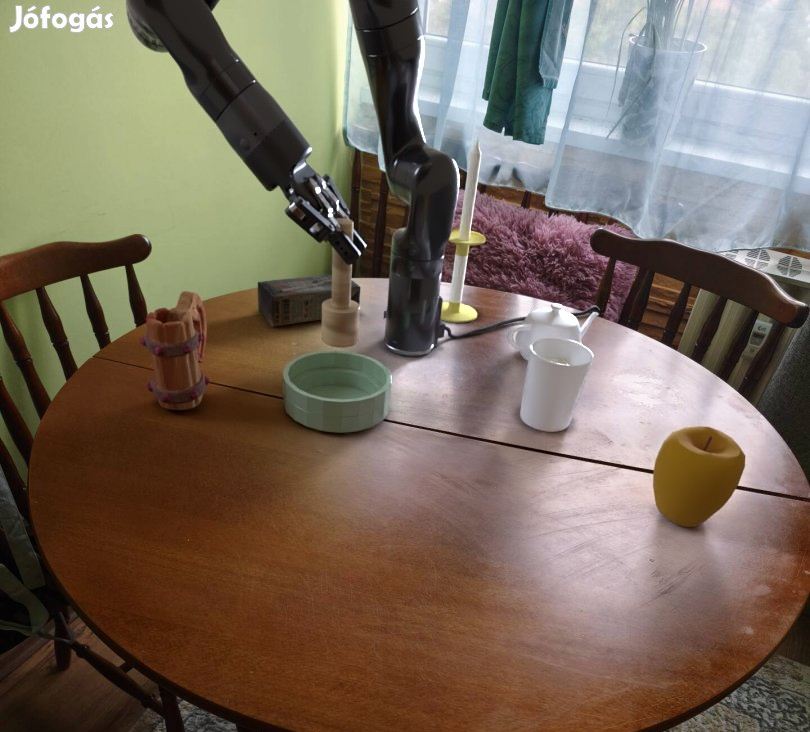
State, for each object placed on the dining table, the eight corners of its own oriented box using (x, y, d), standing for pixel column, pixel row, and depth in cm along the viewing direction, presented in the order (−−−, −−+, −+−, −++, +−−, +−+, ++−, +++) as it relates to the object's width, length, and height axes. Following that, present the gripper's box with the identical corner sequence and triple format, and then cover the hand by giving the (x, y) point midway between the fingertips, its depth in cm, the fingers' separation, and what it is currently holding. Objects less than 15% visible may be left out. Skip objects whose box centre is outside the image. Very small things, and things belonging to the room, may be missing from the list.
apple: (644, 482, 102) (673, 405, 94) (719, 504, 100) (756, 427, 91) (633, 523, 94) (664, 444, 86) (714, 548, 92) (755, 468, 83)
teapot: (570, 337, 140) (583, 287, 133) (608, 364, 132) (623, 313, 125) (485, 348, 133) (495, 296, 126) (520, 378, 124) (532, 324, 118)
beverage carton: (361, 315, 139) (363, 283, 135) (272, 329, 130) (270, 295, 126) (343, 300, 144) (344, 268, 140) (255, 313, 135) (254, 279, 131)
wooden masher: (345, 329, 101) (349, 213, 91) (365, 343, 98) (371, 225, 88) (314, 335, 99) (315, 216, 88) (333, 350, 96) (336, 229, 85)
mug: (192, 422, 104) (180, 326, 94) (141, 413, 104) (124, 317, 95) (230, 379, 115) (223, 289, 105) (184, 370, 115) (172, 280, 106)
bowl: (353, 375, 119) (355, 343, 116) (408, 420, 110) (412, 386, 106) (266, 396, 111) (264, 362, 107) (317, 447, 102) (317, 411, 98)
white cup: (538, 398, 119) (554, 331, 111) (586, 422, 114) (606, 354, 107) (503, 415, 114) (517, 347, 106) (551, 441, 109) (569, 372, 101)
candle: (482, 309, 147) (511, 136, 126) (469, 326, 140) (497, 145, 119) (438, 299, 149) (459, 127, 128) (423, 315, 142) (442, 135, 121)
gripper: (265, 126, 76) (367, 256, 83) (302, 106, 87) (390, 223, 94) (223, 172, 80) (324, 292, 87) (263, 148, 91) (350, 257, 98)
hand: (357, 256), depth 90 cm, fingers closed on wooden masher, 2 cm apart
